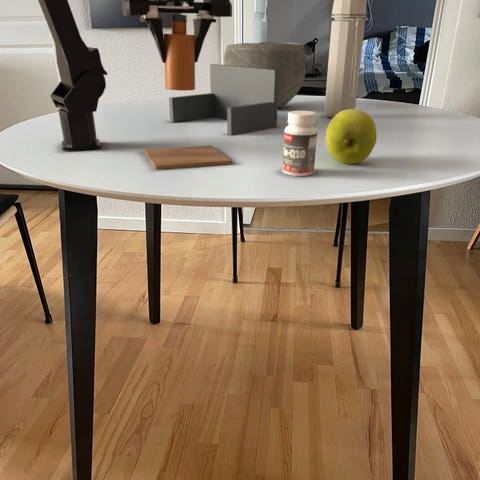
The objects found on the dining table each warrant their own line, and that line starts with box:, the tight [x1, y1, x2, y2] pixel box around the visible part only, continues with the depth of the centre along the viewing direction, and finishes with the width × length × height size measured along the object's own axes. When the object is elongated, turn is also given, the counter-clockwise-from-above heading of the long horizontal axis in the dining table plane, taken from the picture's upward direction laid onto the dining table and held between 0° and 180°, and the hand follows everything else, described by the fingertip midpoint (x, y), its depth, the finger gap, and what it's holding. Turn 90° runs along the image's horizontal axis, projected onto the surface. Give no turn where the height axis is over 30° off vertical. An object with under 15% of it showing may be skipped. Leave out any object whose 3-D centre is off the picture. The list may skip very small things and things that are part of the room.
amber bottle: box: [163, 13, 196, 91], centre depth 91 cm, size 6×6×12 cm
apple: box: [325, 108, 378, 165], centre depth 78 cm, size 8×9×8 cm
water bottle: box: [323, 0, 369, 119], centre depth 111 cm, size 9×8×25 cm
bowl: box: [223, 41, 307, 107], centre depth 127 cm, size 21×21×15 cm
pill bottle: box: [282, 110, 318, 177], centre depth 72 cm, size 5×5×8 cm
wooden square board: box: [143, 144, 232, 171], centre depth 82 cm, size 12×12×1 cm
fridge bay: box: [168, 63, 279, 136], centre depth 106 cm, size 13×20×11 cm, turn 43°
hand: (179, 62), depth 92 cm, fingers closed on amber bottle, 6 cm apart
